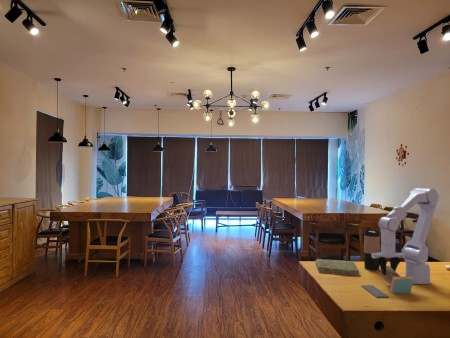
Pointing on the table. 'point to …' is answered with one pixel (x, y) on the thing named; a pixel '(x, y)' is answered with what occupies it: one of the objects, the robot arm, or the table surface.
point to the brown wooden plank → (389, 274)
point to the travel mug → (371, 249)
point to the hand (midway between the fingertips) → (388, 274)
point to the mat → (375, 291)
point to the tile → (401, 285)
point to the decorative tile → (337, 267)
